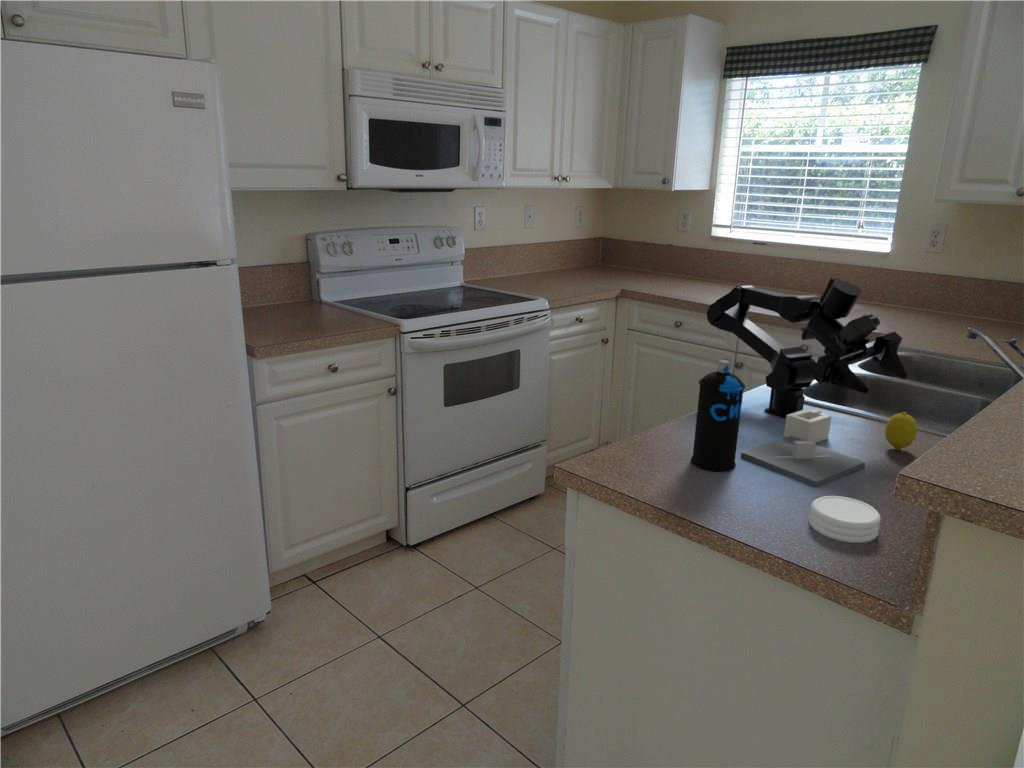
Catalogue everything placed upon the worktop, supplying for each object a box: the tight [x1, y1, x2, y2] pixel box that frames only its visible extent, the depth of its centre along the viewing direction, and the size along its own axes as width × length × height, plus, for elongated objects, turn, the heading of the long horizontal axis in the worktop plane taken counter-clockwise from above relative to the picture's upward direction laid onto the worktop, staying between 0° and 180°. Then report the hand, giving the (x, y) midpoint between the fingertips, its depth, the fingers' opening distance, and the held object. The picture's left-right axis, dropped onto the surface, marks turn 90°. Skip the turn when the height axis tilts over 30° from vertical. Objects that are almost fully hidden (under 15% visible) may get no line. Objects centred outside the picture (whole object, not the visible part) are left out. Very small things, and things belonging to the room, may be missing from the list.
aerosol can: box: [690, 359, 746, 473], centre depth 135 cm, size 8×8×20 cm
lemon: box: [884, 411, 918, 451], centre depth 145 cm, size 6×6×8 cm
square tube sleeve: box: [783, 408, 833, 444], centre depth 151 cm, size 6×8×5 cm
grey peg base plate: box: [740, 436, 866, 488], centre depth 139 cm, size 16×16×4 cm
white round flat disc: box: [808, 495, 882, 544], centre depth 114 cm, size 10×10×4 cm
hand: (887, 384), depth 141 cm, fingers open, 9 cm apart
